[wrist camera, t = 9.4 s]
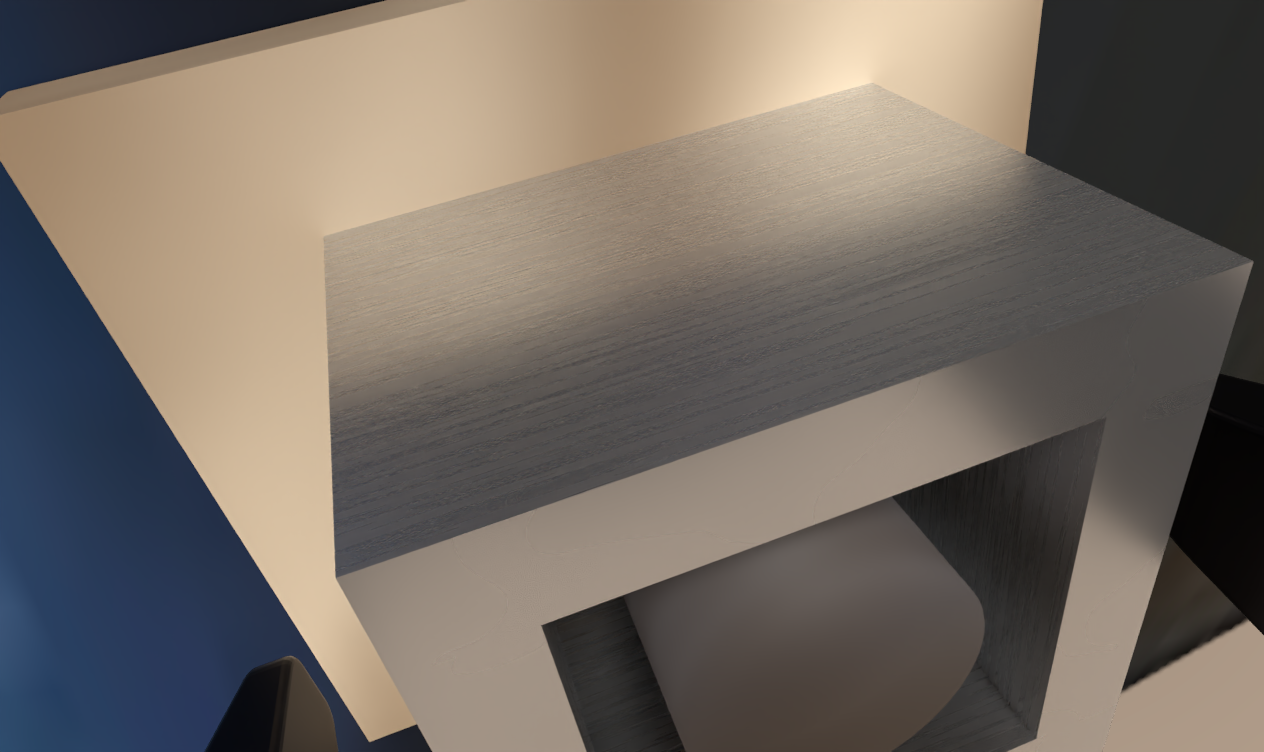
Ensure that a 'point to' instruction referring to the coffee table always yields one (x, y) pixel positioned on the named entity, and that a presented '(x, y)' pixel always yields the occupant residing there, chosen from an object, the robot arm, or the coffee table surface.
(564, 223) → the white square hollow block
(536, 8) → the post stand
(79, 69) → the coffee table surface
